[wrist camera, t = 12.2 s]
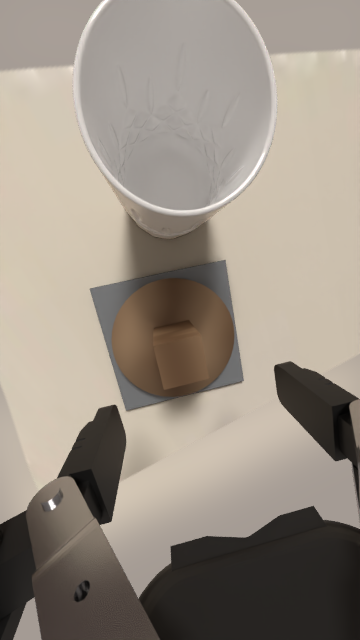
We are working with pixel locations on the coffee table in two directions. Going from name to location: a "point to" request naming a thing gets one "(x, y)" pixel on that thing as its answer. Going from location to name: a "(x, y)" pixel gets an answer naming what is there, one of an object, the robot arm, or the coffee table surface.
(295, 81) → the coffee table surface
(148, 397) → the mat
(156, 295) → the lid
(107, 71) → the white cup
